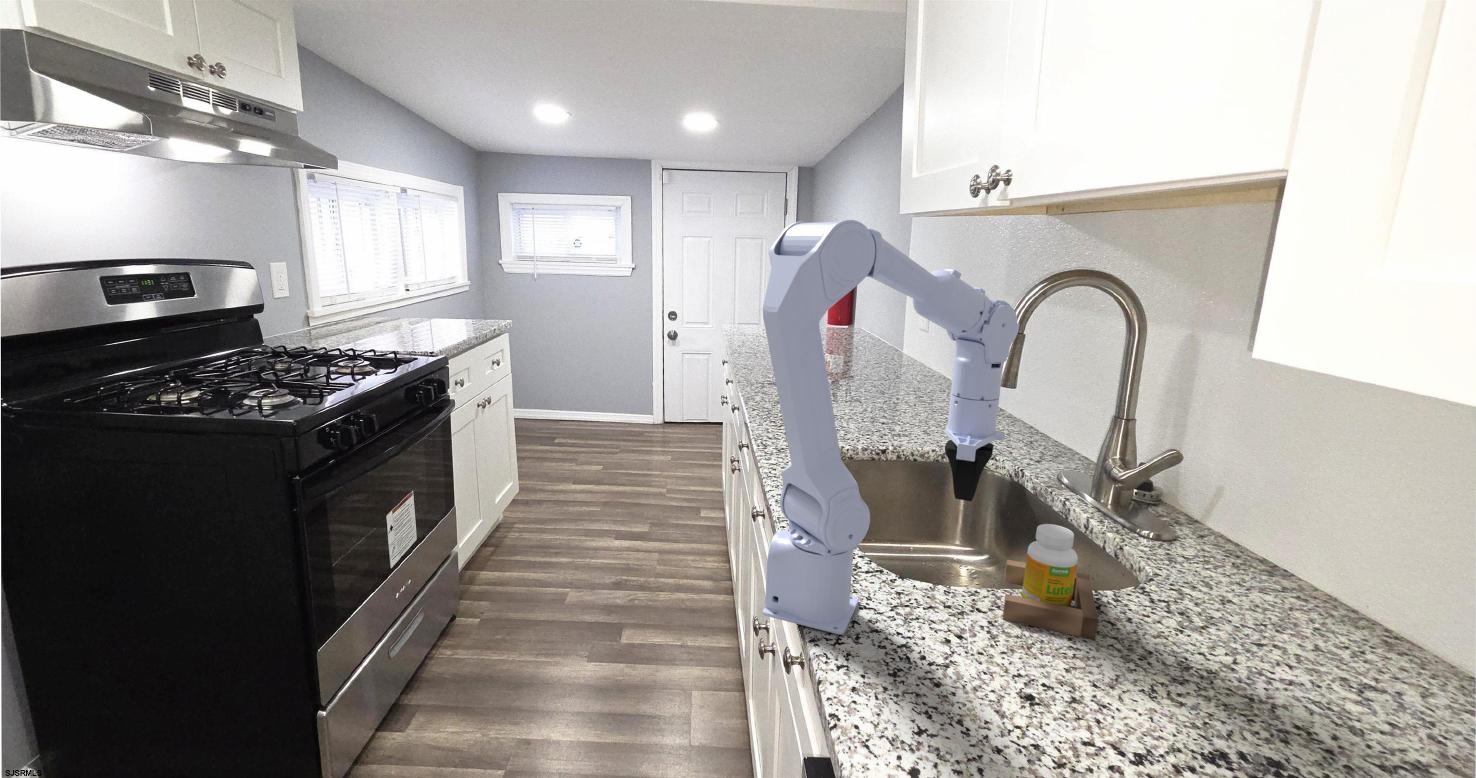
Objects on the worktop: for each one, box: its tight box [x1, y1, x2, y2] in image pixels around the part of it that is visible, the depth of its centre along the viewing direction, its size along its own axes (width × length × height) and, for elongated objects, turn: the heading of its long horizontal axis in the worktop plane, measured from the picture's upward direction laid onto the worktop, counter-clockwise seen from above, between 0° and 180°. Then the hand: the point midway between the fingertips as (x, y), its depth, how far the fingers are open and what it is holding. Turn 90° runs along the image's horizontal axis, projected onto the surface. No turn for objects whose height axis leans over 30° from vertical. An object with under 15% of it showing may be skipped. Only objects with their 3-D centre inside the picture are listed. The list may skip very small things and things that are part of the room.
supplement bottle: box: [1021, 523, 1079, 607], centre depth 78 cm, size 5×5×10 cm
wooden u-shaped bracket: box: [1002, 559, 1099, 641], centre depth 78 cm, size 10×11×2 cm
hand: (963, 498), depth 84 cm, fingers closed
